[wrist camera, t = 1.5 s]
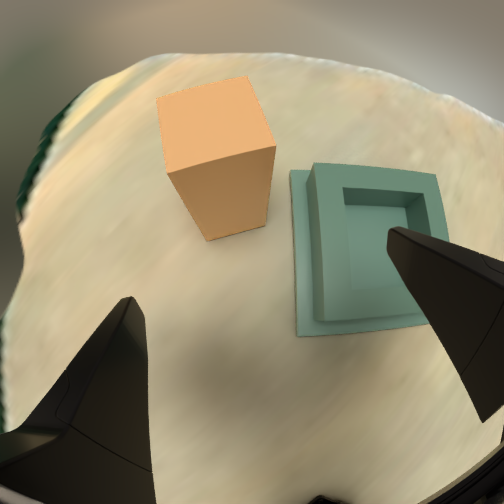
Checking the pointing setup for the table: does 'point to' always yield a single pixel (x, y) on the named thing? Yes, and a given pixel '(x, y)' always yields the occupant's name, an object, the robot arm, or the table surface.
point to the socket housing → (357, 245)
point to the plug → (219, 154)
